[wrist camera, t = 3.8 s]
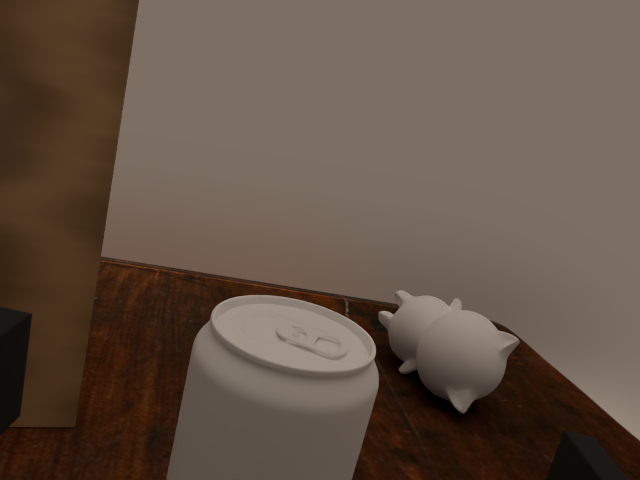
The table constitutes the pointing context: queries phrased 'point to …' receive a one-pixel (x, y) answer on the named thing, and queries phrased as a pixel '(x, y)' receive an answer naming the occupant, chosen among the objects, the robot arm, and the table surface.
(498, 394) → the table surface
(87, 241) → the plinth
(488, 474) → the table surface
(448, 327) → the cat figurine
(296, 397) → the beverage can
